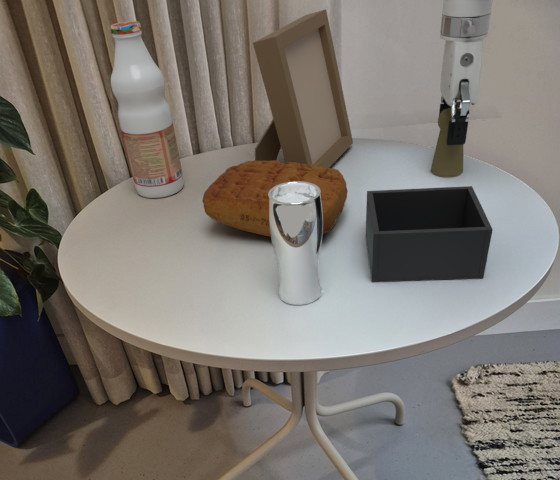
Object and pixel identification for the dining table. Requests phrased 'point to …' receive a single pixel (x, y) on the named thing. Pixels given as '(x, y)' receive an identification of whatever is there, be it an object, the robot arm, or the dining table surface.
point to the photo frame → (303, 94)
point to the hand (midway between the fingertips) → (450, 134)
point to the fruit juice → (144, 115)
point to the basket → (426, 234)
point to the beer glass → (297, 239)
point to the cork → (446, 151)
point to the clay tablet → (256, 185)
